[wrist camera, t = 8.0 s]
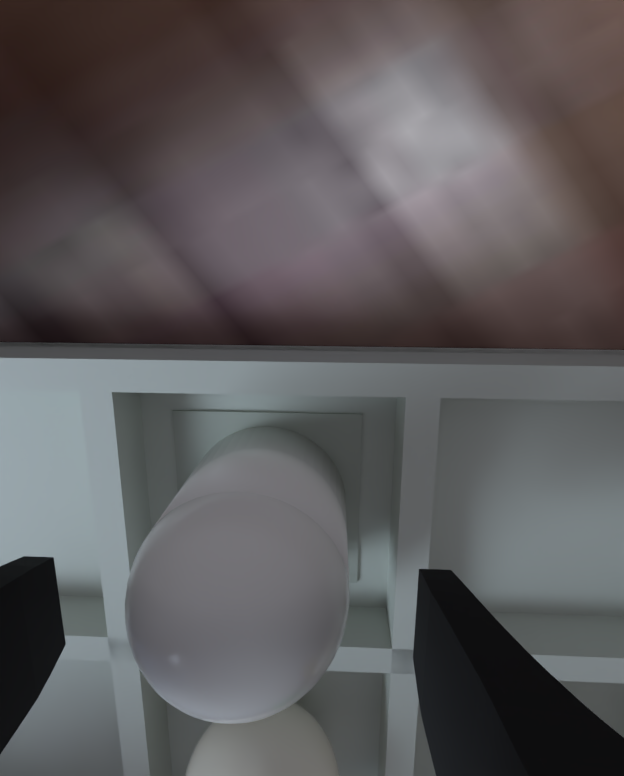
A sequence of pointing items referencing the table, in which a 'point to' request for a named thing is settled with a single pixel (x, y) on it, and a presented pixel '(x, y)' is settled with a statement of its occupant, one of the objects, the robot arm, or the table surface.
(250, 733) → the cream egg middle
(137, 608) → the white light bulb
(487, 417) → the egg tray
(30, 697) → the robot arm
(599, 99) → the table surface
